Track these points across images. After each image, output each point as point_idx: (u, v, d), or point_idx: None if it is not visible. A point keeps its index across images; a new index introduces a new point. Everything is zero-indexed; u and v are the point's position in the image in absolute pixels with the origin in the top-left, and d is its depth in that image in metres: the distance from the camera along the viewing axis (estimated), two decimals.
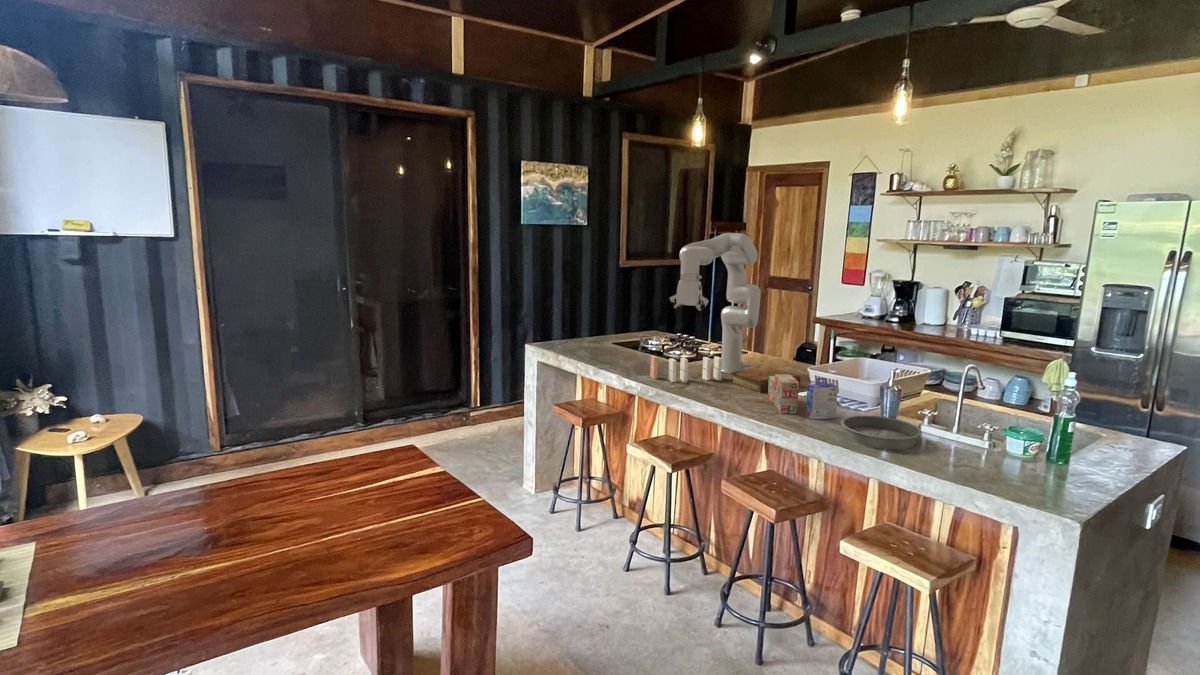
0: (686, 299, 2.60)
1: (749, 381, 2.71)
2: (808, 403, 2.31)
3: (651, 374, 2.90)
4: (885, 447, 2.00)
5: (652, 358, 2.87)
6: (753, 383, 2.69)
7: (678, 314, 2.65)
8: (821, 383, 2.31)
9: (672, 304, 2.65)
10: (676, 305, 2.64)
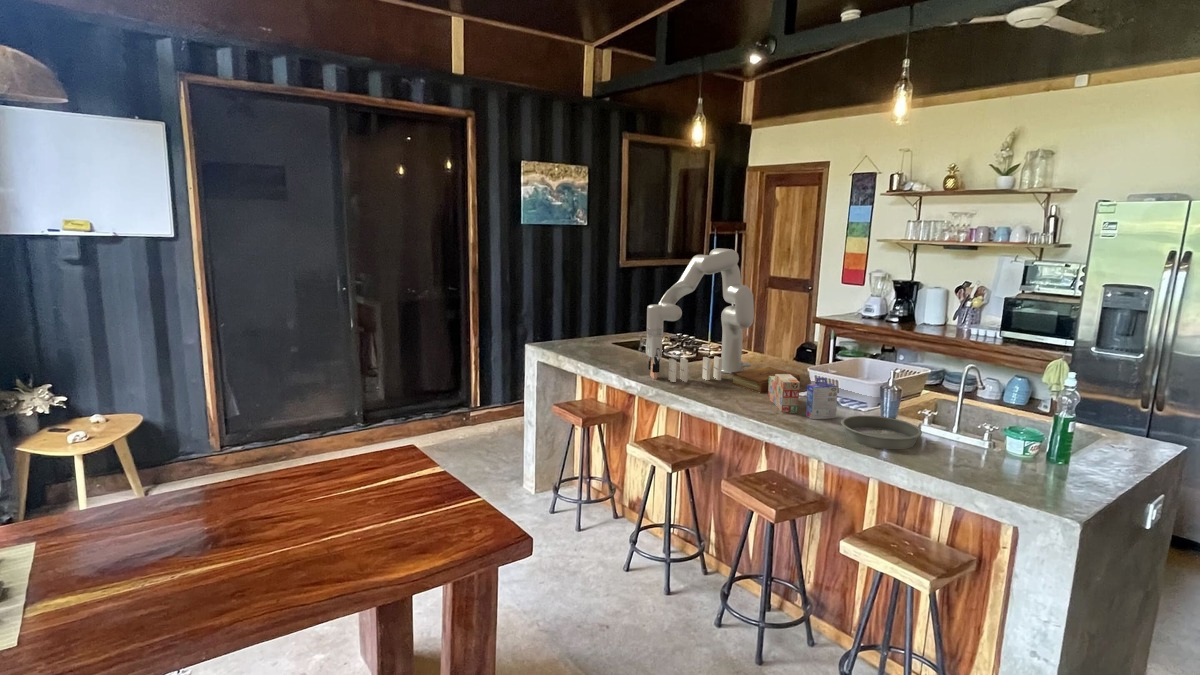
0: None
1: (749, 381, 2.71)
2: (808, 403, 2.31)
3: (651, 374, 2.90)
4: (885, 447, 2.00)
5: (652, 358, 2.87)
6: (753, 383, 2.69)
7: None
8: (821, 383, 2.31)
9: (659, 361, 2.83)
10: None
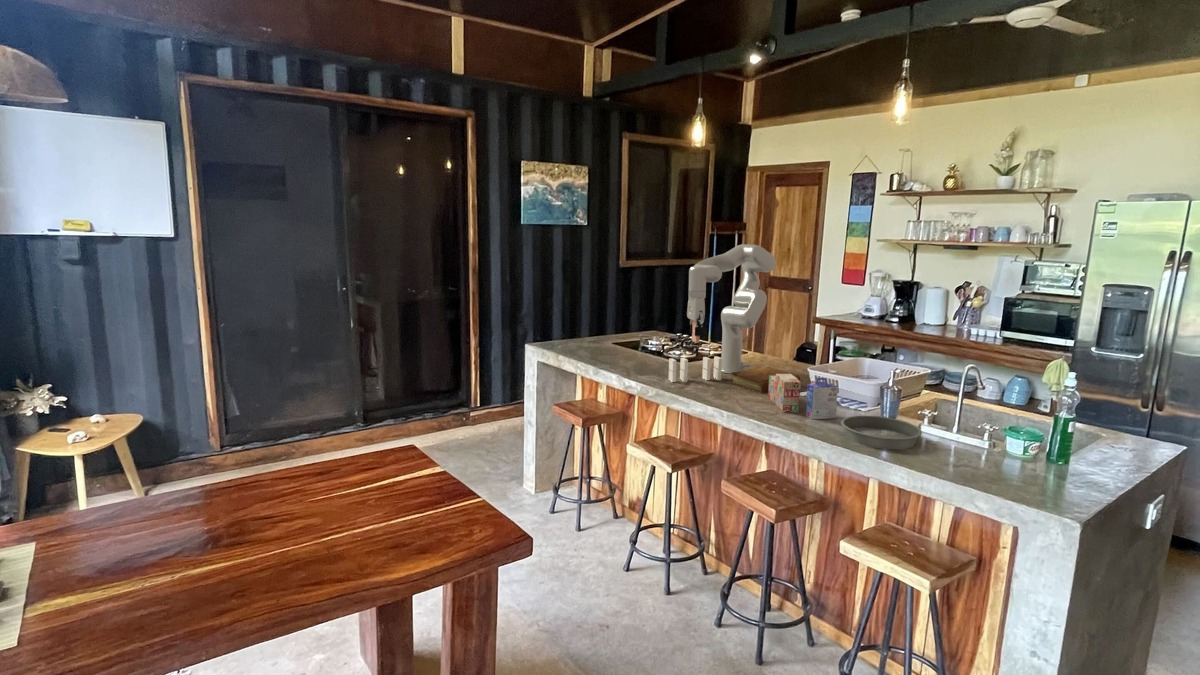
0: None
1: (750, 381, 2.71)
2: (808, 403, 2.31)
3: (693, 338, 2.83)
4: (885, 447, 2.00)
5: (694, 321, 2.81)
6: (754, 383, 2.69)
7: None
8: (821, 383, 2.31)
9: None
10: None
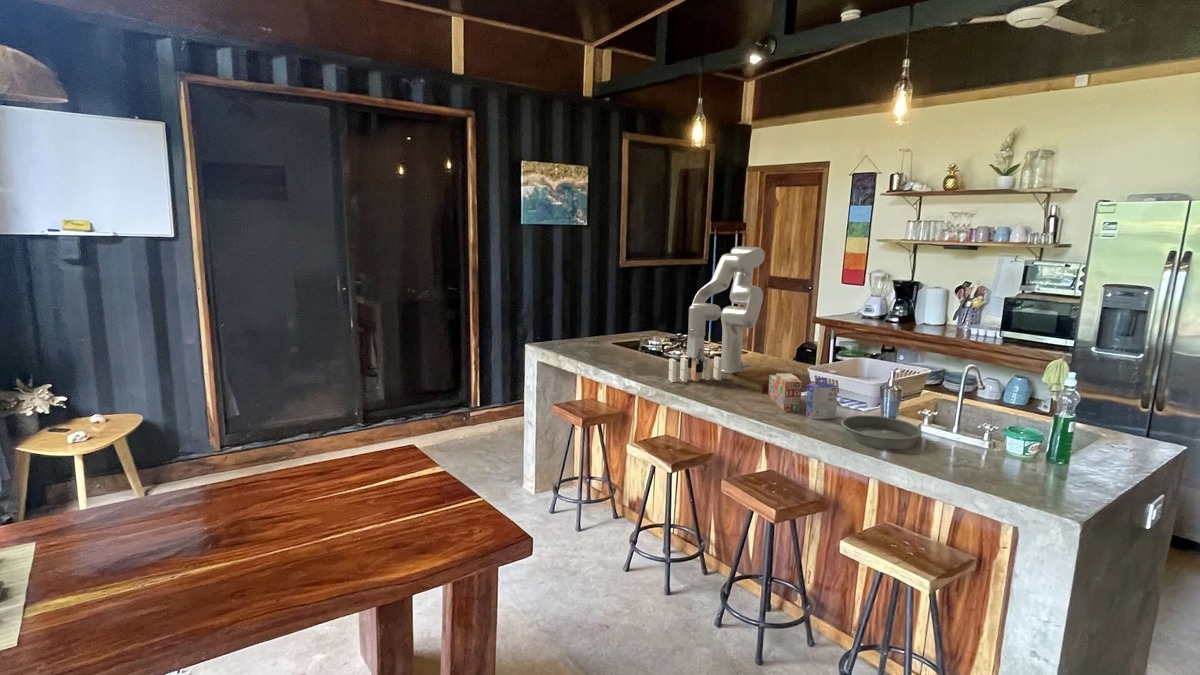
0: None
1: (750, 381, 2.71)
2: (808, 403, 2.31)
3: (692, 376, 2.86)
4: (885, 447, 2.00)
5: (693, 360, 2.84)
6: (754, 383, 2.69)
7: None
8: (821, 383, 2.31)
9: (703, 361, 2.78)
10: None
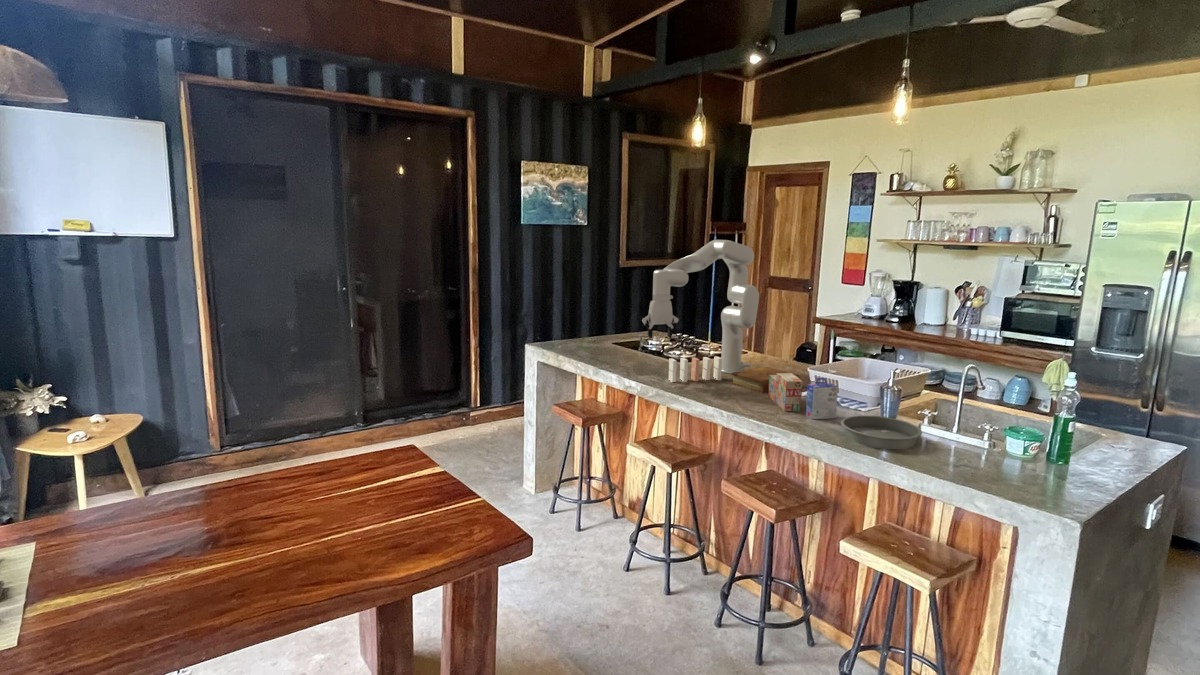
0: (662, 319, 2.74)
1: (750, 381, 2.70)
2: (808, 403, 2.31)
3: (692, 376, 2.86)
4: (885, 447, 2.00)
5: (693, 360, 2.84)
6: (755, 383, 2.68)
7: None
8: (821, 383, 2.31)
9: (646, 325, 2.74)
10: (651, 326, 2.74)
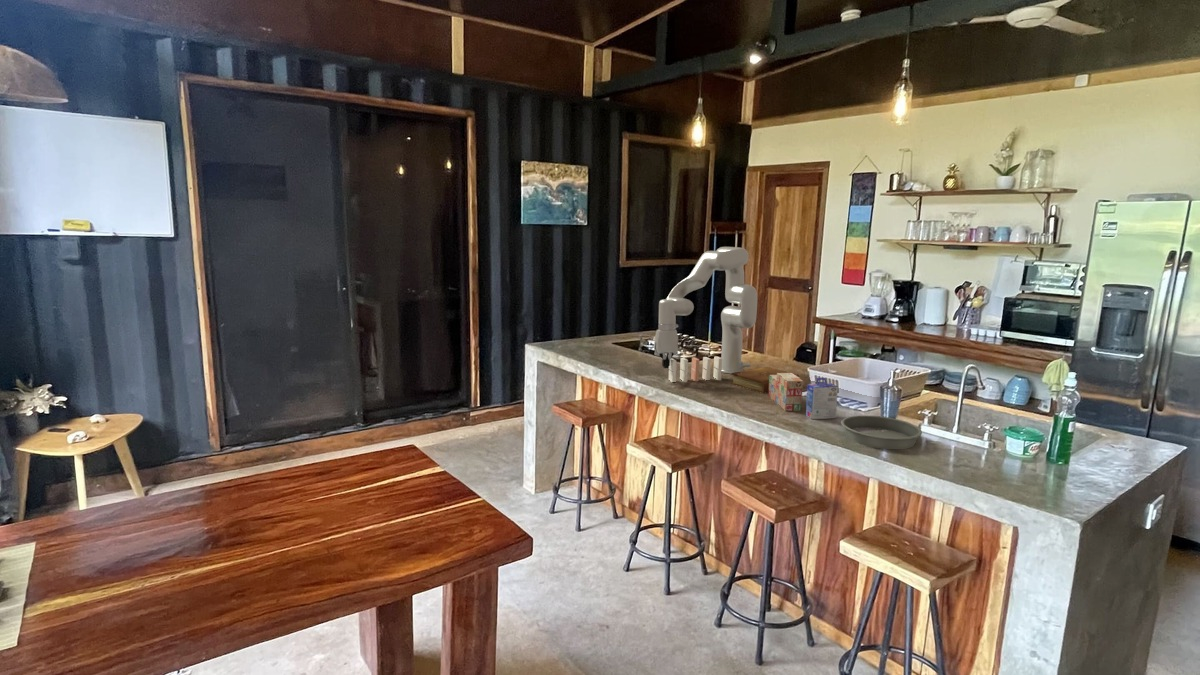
0: (668, 347, 2.77)
1: (751, 381, 2.70)
2: (808, 403, 2.31)
3: (692, 376, 2.86)
4: (885, 447, 2.00)
5: (693, 360, 2.84)
6: (755, 383, 2.68)
7: None
8: (821, 383, 2.31)
9: (660, 356, 2.79)
10: (664, 356, 2.79)
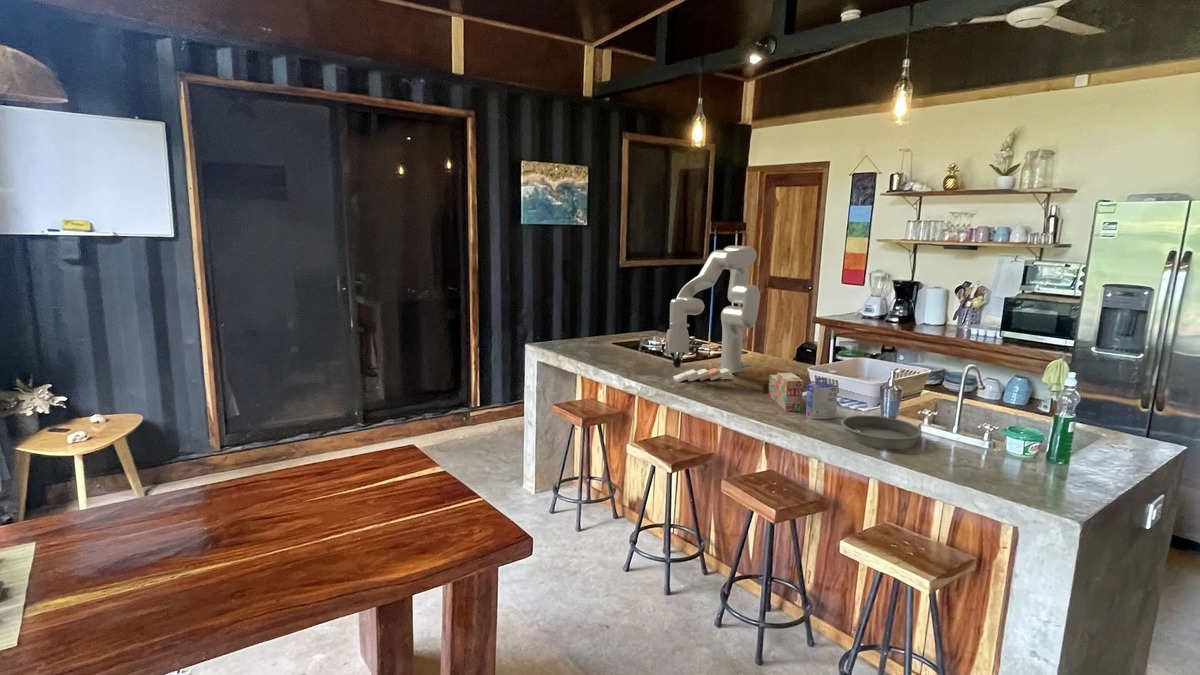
0: (679, 347, 2.78)
1: (751, 381, 2.70)
2: (808, 403, 2.31)
3: None
4: (885, 447, 2.00)
5: (715, 369, 2.87)
6: (755, 383, 2.68)
7: None
8: (821, 383, 2.31)
9: (672, 355, 2.80)
10: (675, 355, 2.80)
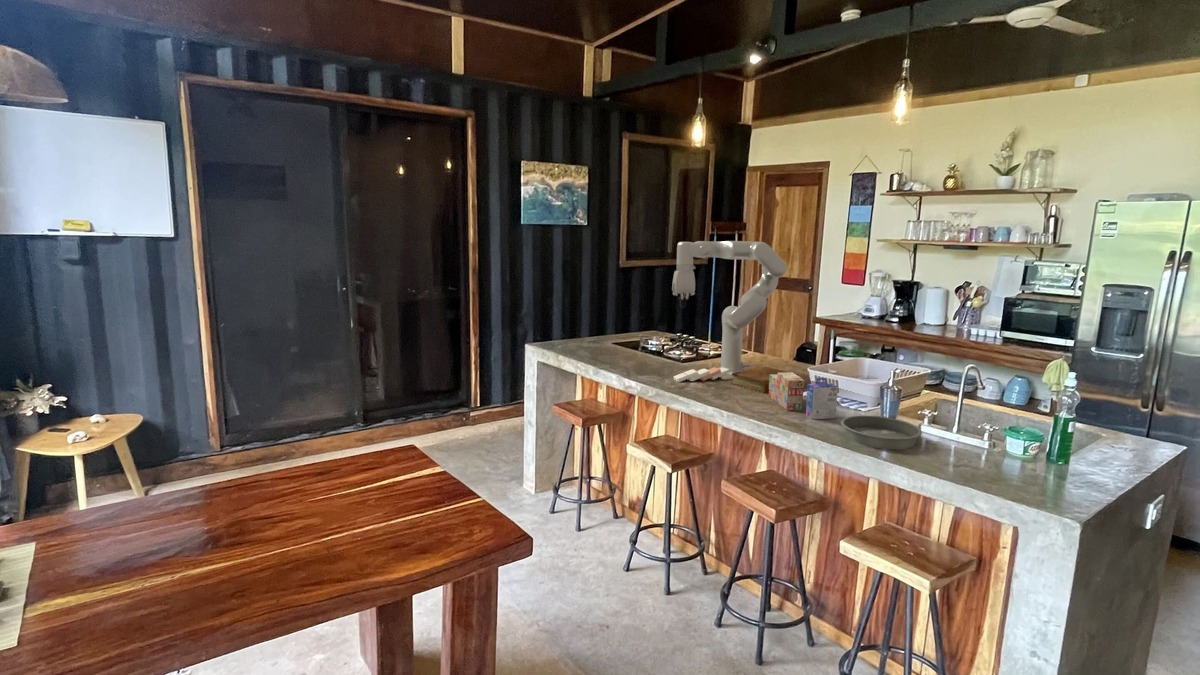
0: (685, 287, 2.92)
1: (751, 382, 2.70)
2: (808, 403, 2.31)
3: None
4: (885, 447, 2.00)
5: (715, 368, 2.89)
6: (756, 383, 2.68)
7: None
8: (821, 383, 2.31)
9: (678, 296, 2.94)
10: (682, 296, 2.94)
